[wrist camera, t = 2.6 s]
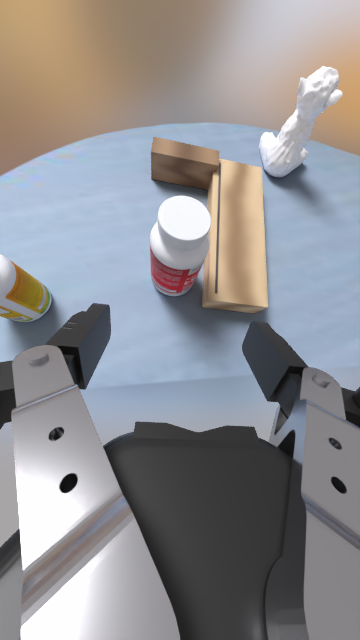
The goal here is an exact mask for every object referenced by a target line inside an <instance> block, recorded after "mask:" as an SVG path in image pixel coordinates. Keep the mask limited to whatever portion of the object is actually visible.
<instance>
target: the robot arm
mask: <svg viewBox="0 0 360 640" xmlns="http://www.w3.org/2000/svg"><path fill="white" fill-rule="evenodd" d="M110 335H111V322H110V307H109V305H106V304H97V303H93V304H92V305H91V306H90V307H89V309H88V310H87V311H86V312H85V311H81V312H79V313H77V314H75V315H73V316H72V317H71V318H70V319H69V320H68V321H67V323H65V324H64V325H63V327H62V328H61V329H60V330H59V331H58V332H57V333H56V334H55V335H54V336H53V337H52V338H51V339H50V340H49V341H48V342H47V344H46V345H41V346H36V347H32V348H30V349H27V350H25V351H23V352H22V353H20V354H19V355H17V356H16V357H15V359H14V360H13V361H7V362H0V429H1V428H2V426H3V424H4V423H7V422H11V421H12V431H13V443H14V457H15V470H16V482H17V495H18V508H19V521H20V528H19V529H18V530H17V531H16V532H15V533H14V534H13V535H12V536H11V537H10V538H9V539H8V540H7V541H6V542H5V543H4V544H3V545H2V546H1V547H0V640H360V387H359V388H358V389H357V390H356V391H351V390H348V389H345V388H341V387H340V385H339V383H338V382H337V381H336V380H335V379H334V378H333V377H331V376H330V375H329V374H327V373H325V372H323V371H321V370H319V369H316V368H311V367H308V366H307V365H306V364H305V362H304V361H303V360H302V359H301V358H300V357H299V356H298V354H297V353H296V352H295V351H294V350H293V349H292V348H291V346H290V345H288V343H287V342H286V341H285V340H284V339H283V337H281V336H280V335H278V334H277V333H276V332H275V331H274V330H273V329H272V328H271V327H270V325H269V324H268V323H265V322H256V321H253V322H252V323H251V324H250V327H249V329H248V331H247V334H246V336H245V339H244V341H243V345H242V351H243V354H244V356H245V358H246V360H247V362H248V364H249V366H250V368H251V370H252V372H253V374H254V376H255V378H256V380H257V382H258V384H259V386H260V388H261V389H262V392H263V393H264V395H265V398H266V399H267V401H271V402H278V403H279V404H280V405H279V406H278V408H277V410H276V414H275V418H274V422H273V427H272V431H271V436H270V439H269V442H267V441H265V440H263V439H261V438H258V436H257V433H256V431H255V428H254V427H245V426H223V427H219V428H216V429H212V430H208V431H204V432H193V431H190V430H187V429H184V428H181V427H177V426H174V425H171V424H168V423H155V422H154V423H153V422H136V423H135V429H134V432H131V433H127V434H124V435H122V436H119V437H117V438H115V439H113V440H111V441H110V442H108V443H107V444H105V445H104V446H102V443H101V441H100V438H99V436H98V434H97V431H96V429H95V426H94V424H93V421H92V419H91V416H90V414H89V412H88V409H87V407H86V404H85V402H84V399H83V397H82V395H81V392H80V390H79V389H86V387H87V385H88V383H89V381H90V379H91V377H92V375H93V373H94V371H95V369H96V366H97V364H98V362H99V360H100V358H101V356H102V354H103V352H104V350H105V348H106V346H107V344H108V342H109V339H110Z"/></svg>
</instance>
